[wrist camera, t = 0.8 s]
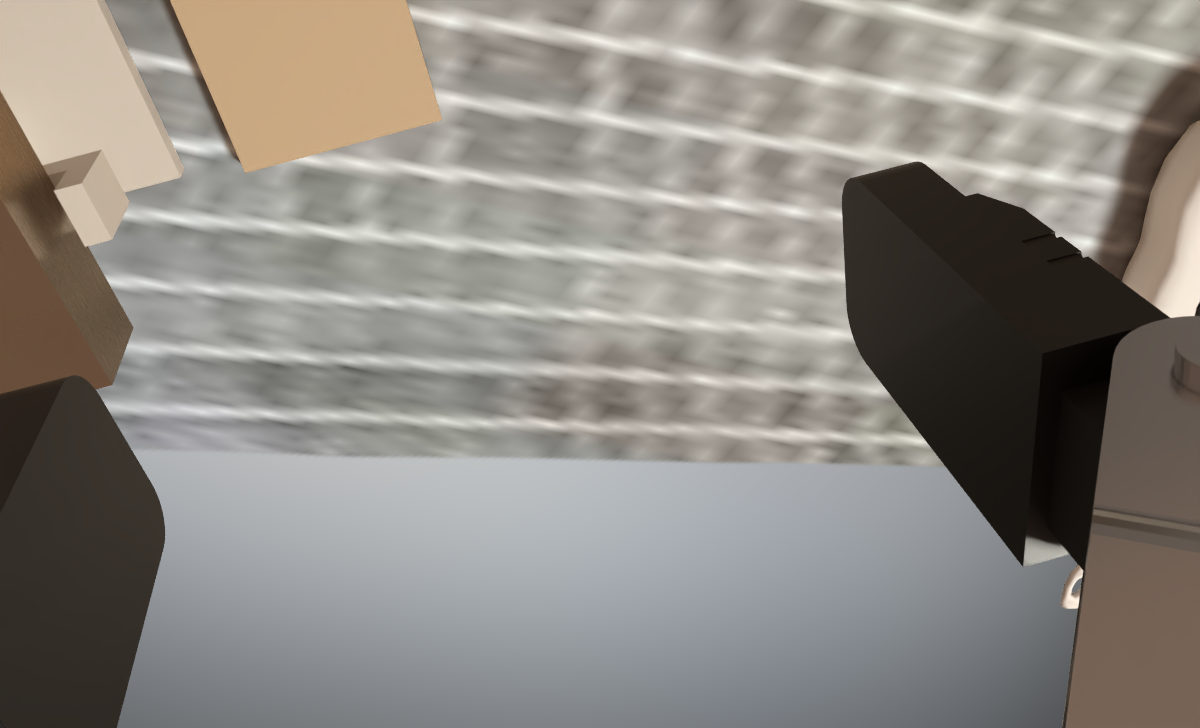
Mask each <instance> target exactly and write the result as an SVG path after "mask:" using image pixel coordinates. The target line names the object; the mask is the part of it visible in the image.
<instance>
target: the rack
mask: <svg viewBox="0 0 1200 728" xmlns="http://www.w3.org/2000/svg"><path fill="white" fill-rule="evenodd" d="M0 91H1V92H2V94H3V96H4V98H5V100H6V101H7V103H8V105H9V107H10V109H11V110H12V112H13V114H14V116H15V117H16V119H17V121H18V123H19V125H20V126H21V128H22V130H23V132H24V133H25V135H26V137H27V139H28V141H29V142H30V144H31V146H32V148H33V150H34V151H35V153H36V155H37V157H38V158H39V160H40V162H41V164H42V166H43V167H44V169H45V171H46V173H47V174H48V176H49V178H50V180H51V182H52V183H53V185H54V187H55V189H54V192H55V194H56V196H57V198H58V200H59V201H60V203H61V205H62V207H63V208H64V210H65V212H66V214H67V216H68V217H69V219H70V221H71V223H72V224H73V226H74V228H75V230H76V232H77V233H78V235H79V237H80V239H81V240H82V242H83V244H84V246H85V247H87V246H90V245H94V244H98V243H102V242H105V241H109V240H112V239H113V237H114V235H115V233H116V230H117V228H118V226H119V224H120V222H121V220H122V218H123V216H124V213H125V211H126V209H127V207H128V205H129V201H128V199H127V197H126V195H125V193H124V192H128V191H132V190H135V189H139V188H143V187H146V186H150V185H154V184H158V183H161V182H165V181H169V180H173V179H176V178H180V177H181V176H182V173H183V171H184V167H183V165H182V163H181V161H180V158H179V156H178V154H177V152H176V150H175V148H174V146H173V144H172V141H171V139H170V137H169V135H168V133H167V131H166V129H165V127H164V125H163V122H162V120H161V118H160V116H159V114H158V112H157V110H156V108H155V106H154V103H153V101H152V99H151V97H150V95H149V93H148V91H147V89H146V87H145V84H144V82H143V80H142V78H141V76H140V74H139V72H138V70H137V67H136V65H135V63H134V61H133V59H132V57H131V55H130V53H129V51H128V48H127V46H126V44H125V42H124V40H123V38H122V36H121V34H120V32H119V29H118V27H117V25H116V23H115V21H114V19H113V17H112V15H111V13H110V10H109V8H108V6H107V4H106V2H105V0H0Z"/></svg>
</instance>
